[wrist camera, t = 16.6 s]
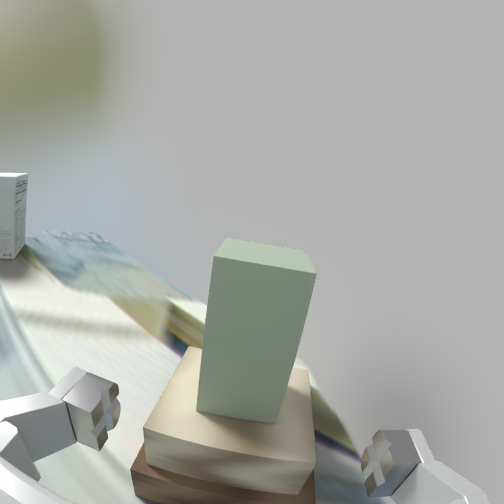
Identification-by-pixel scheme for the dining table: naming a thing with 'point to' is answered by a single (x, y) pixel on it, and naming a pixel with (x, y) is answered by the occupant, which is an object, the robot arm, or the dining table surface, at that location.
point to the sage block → (252, 328)
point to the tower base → (204, 488)
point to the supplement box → (12, 213)
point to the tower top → (232, 436)
